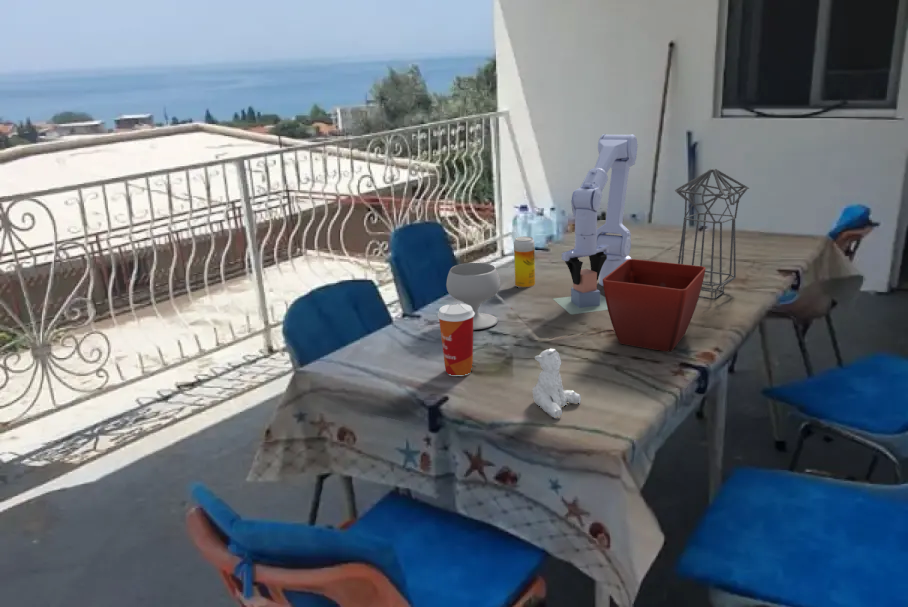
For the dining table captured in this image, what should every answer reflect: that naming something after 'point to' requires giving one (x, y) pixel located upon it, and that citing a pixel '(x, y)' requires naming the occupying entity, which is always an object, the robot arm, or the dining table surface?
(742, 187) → the geometric lantern
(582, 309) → the plate
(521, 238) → the beer can
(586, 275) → the top brick
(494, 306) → the dining table surface
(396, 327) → the dining table surface
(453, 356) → the coffee cup
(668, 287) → the plant pot
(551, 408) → the seated beast figurine
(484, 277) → the chalice
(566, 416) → the dining table surface
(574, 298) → the base brick
